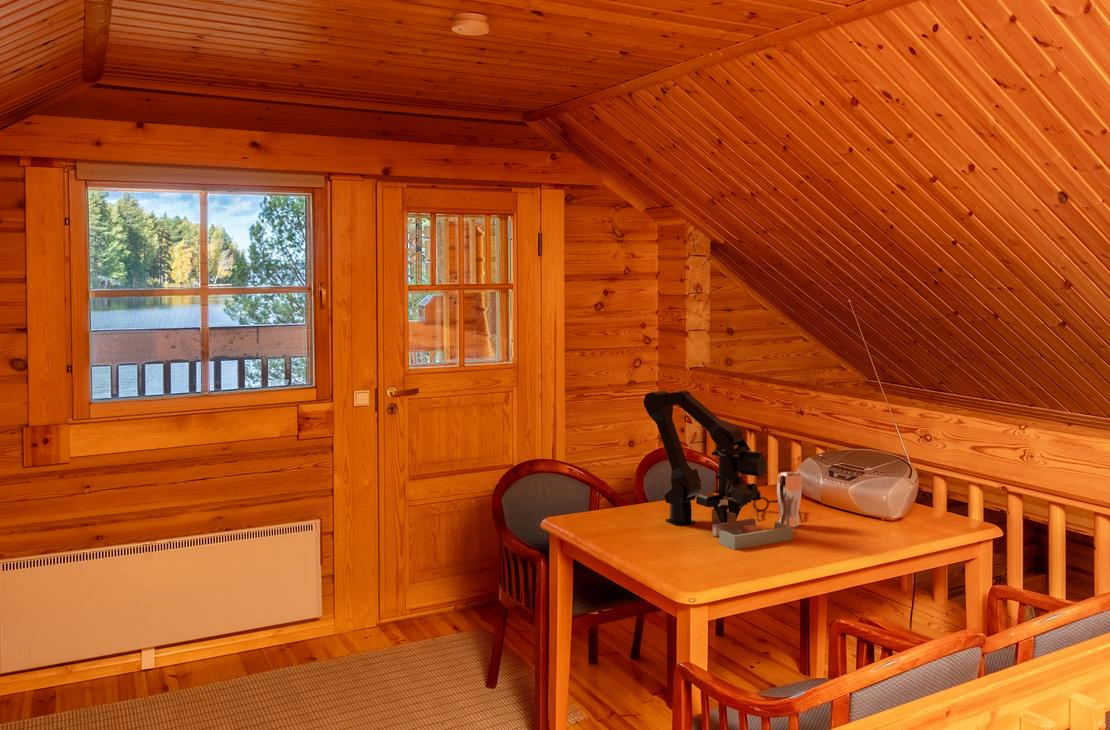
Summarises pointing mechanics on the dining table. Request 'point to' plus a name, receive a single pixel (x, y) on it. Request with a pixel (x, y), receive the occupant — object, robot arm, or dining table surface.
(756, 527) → the terracotta tile
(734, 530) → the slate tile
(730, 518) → the scraper
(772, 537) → the box
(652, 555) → the dining table surface
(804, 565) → the dining table surface
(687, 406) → the robot arm
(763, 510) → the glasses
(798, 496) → the beer glass
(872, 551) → the dining table surface
